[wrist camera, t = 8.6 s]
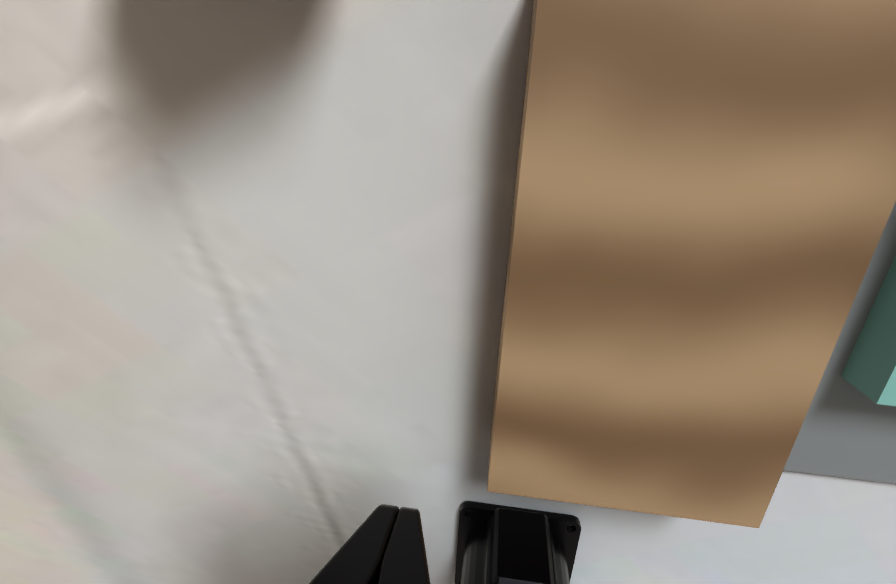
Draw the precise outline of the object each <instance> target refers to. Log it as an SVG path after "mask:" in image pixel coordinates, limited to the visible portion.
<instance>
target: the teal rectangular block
mask: <svg viewBox="0 0 896 584" xmlns="http://www.w3.org/2000/svg"><path fill="white" fill-rule="evenodd" d="M841 377H842V378H844V379H845V380H846V381H848V382H849V383H850V384H851V385H853V386H854V387H855V388H857V389H858V390H859V391H861V392H862V393H863V394H864V395H866V396H867V397H868V398H870V399H871V400H872V401H873V402H875V403H876V404H881V405H890V406H896V255H895V258H894V260H893V262H892V264H891V266H890V269H889V271H888V273H887V275H886V277H885V280H884V282H883V284H882V286H881V289H880V291H879V293H878V295H877V297H876V300H875V302H874V304H873V306H872V308H871V311H870V313H869V315H868V317H867V319H866V322H865V324H864V326H863V328H862V331H861V333H860V335H859V337H858V339H857V342H856V344H855V346H854V348H853V350H852V353H851V355H850V357H849V359H848V362H847V364H846V366H845V368H844V370H843V373H842V375H841Z"/></svg>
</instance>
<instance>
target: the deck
mask: <svg viewBox="0 0 896 584" xmlns="http://www.w3.org/2000/svg"><path fill="white" fill-rule="evenodd" d="M895 202H896V0H534V3H533V13H532V23H531V34H530V44H529V54H528V64H527V74H526V84H525V94H524V104H523V114H522V124H521V134H520V144H519V154H518V164H517V174H516V184H515V194H514V204H513V214H512V224H511V234H510V244H509V254H508V264H507V274H506V284H505V294H504V304H503V314H502V324H501V334H500V344H499V354H498V364H497V374H496V384H495V394H494V404H493V414H492V424H491V437H490V454H489V472H488V489H487V491H488V492H495V493H502V494H510V495H517V496H525V497H532V498H539V499H547V500H554V501H562V502H569V503H576V504H584V505H591V506H599V507H606V508H614V509H621V510H628V511H636V512H643V513H651V514H658V515H665V516H673V517H680V518H688V519H695V520H702V521H710V522H717V523H725V524H732V525H740V526H747V527H754V528H759V526H760V524H761V522H762V519H763V517H764V515H765V512H766V510H767V507H768V505H769V503H770V500H771V498H772V495H773V493H774V491H775V488H776V486H777V483H778V481H779V479H780V476H781V474H782V472H783V469H784V467H785V464H786V462H787V460H788V457H789V455H790V452H791V450H792V448H793V445H794V443H795V440H796V438H797V436H798V433H799V431H800V429H801V426H802V424H803V421H804V419H805V417H806V414H807V412H808V409H809V407H810V405H811V402H812V400H813V397H814V395H815V393H816V390H817V388H818V386H819V383H820V381H821V378H822V376H823V374H824V371H825V369H826V366H827V364H828V362H829V359H830V357H831V354H832V352H833V350H834V347H835V345H836V343H837V340H838V338H839V335H840V333H841V331H842V328H843V326H844V323H845V321H846V319H847V316H848V314H849V311H850V309H851V307H852V304H853V302H854V300H855V297H856V295H857V292H858V290H859V288H860V285H861V283H862V280H863V278H864V276H865V273H866V271H867V268H868V266H869V264H870V261H871V259H872V257H873V254H874V252H875V249H876V247H877V245H878V242H879V240H880V237H881V235H882V233H883V230H884V228H885V225H886V223H887V221H888V218H889V216H890V214H891V211H892V209H893V206H894V204H895Z"/></svg>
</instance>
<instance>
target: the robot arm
mask: <svg viewBox="0 0 896 584" xmlns="http://www.w3.org/2000/svg"><path fill="white" fill-rule="evenodd" d="M469 511H472V512H469ZM569 525H573V526H569ZM580 532H581V526H580V521H579V519H578V518H577V517H575V516H572V515H565V514H557V513H550V512H543V511H536V510H528V509H521V508H514V507H507V506H499V505H492V504H485V503H478V502H470V501H467V502H464V503H463V504H462V505H461V508H460V518H459V532H458V545H457V559H456V572H455V584H570V578H571V574H572V569H573V564H574V560H575V555H576V550H577V546H578V541H579V537H580ZM309 584H430V578H429V572H428V565H427V558H426V552H425V545H424V538H423V532H422V525H421V518H420V512H419V510H418V509H413V508H406V507H402V508H400V509H399V508H398V507H397V506H392V505H385V504H382V505H379V506H378V507H377V508H376V509H375V510H374V512H373V513H372V514H371V515H370V516H369V517H368V518H367V519H366V520H365V522H364V523H363V524H362V525H361V526H360V527H359V528H358V529H357V531H356V532H355V533H354V534H353V535H352V536H351V537H350V538H349V539H348V541H347V542H346V543H345V544H344V545H343V546H342V547H341V548H340V550H339V551H338V552H337V553H336V554H335V555H334V556H333V557H332V558H331V560H330V561H329V562H328V563H327V564H326V565H325V566H324V567H323V569H322V570H321V571H320V572H319V573H318V574H317V575H316V576H315V578H314V579H313V580H312V581H311V582H310V583H309Z"/></svg>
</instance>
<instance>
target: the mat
mask: <svg viewBox="0 0 896 584" xmlns="http://www.w3.org/2000/svg"><path fill="white" fill-rule="evenodd" d="M895 255H896V202H895V204H894V206H893V209H892V211H891V214H890V216H889V218H888V221H887V223H886V225H885V228H884V230H883V233H882V235H881V237H880V240H879V242H878V245H877V247H876V249H875V252H874V254H873V257H872V259H871V261H870V264H869V266H868V268H867V271H866V273H865V276H864V278H863V280H862V283H861V285H860V288H859V290H858V292H857V295H856V297H855V300H854V302H853V304H852V307H851V309H850V311H849V314H848V316H847V319H846V321H845V323H844V326H843V328H842V331H841V333H840V335H839V338H838V340H837V343H836V345H835V347H834V350H833V352H832V354H831V357H830V359H829V362H828V364H827V366H826V369H825V371H824V374H823V376H822V378H821V381H820V383H819V386H818V388H817V390H816V393H815V395H814V397H813V400H812V402H811V405H810V407H809V409H808V412H807V414H806V417H805V419H804V421H803V424H802V426H801V429H800V431H799V433H798V436H797V438H796V440H795V443H794V445H793V448H792V450H791V452H790V455H789V457H788V460H787V462H786V464H785V467H784V469H783V470H785V471H793V472H801V473H809V474H818V475H826V476H834V477H842V478H850V479H859V480H867V481H875V482H883V483H892V484H896V406H890V405H881V404H876V403H875V402H873V401H872V400H871V399H870V398H868V397H867V396H866V395H864V394H863V393H862V392H861V391H859V390H858V389H857V388H855V387H854V386H853V385H851V384H850V383H849V382H848V381H846V380H845V379H844V378H842V377H841V375H842V373H843V370H844V368H845V366H846V364H847V362H848V359H849V357H850V355H851V353H852V350H853V348H854V346H855V344H856V342H857V339H858V337H859V335H860V333H861V331H862V328H863V326H864V324H865V322H866V319H867V317H868V315H869V313H870V311H871V308H872V306H873V304H874V302H875V300H876V297H877V295H878V293H879V291H880V289H881V286H882V284H883V282H884V280H885V277H886V275H887V273H888V271H889V269H890V266H891V264H892V262H893V260H894V258H895Z"/></svg>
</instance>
